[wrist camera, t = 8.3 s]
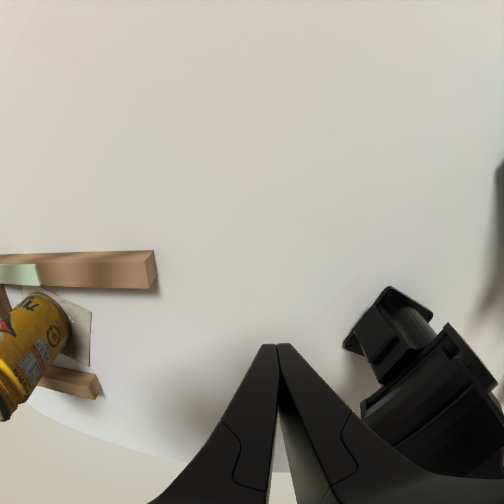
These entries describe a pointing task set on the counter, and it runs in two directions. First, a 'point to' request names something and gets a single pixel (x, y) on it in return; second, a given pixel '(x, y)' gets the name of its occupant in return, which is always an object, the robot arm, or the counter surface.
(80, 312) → the condiment
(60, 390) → the rail bay
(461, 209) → the counter surface
